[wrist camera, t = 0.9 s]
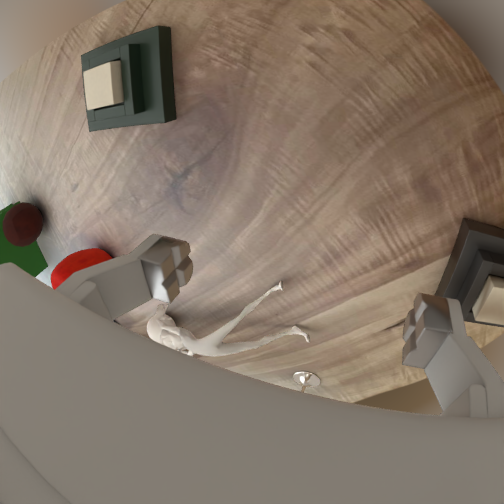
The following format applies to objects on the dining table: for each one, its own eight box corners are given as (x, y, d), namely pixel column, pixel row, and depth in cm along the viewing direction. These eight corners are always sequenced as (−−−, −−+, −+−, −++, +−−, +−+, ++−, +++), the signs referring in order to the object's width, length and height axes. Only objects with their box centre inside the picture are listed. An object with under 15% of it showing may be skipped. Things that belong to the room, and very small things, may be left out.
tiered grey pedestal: (463, 217, 20) (475, 240, 17) (536, 239, 17) (552, 262, 14) (431, 301, 26) (435, 328, 23) (499, 313, 23) (507, 339, 20)
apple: (113, 235, 39) (62, 277, 31) (134, 282, 44) (91, 327, 35) (83, 234, 43) (37, 270, 34) (102, 276, 47) (62, 314, 39)
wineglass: (318, 392, 42) (297, 457, 33) (285, 382, 43) (259, 445, 34) (329, 375, 39) (307, 448, 29) (293, 364, 40) (265, 435, 31)
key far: (93, 70, 22) (82, 71, 21) (121, 60, 20) (109, 61, 19) (97, 107, 24) (86, 110, 23) (125, 101, 23) (113, 104, 22)
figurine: (310, 357, 31) (150, 384, 39) (309, 304, 40) (171, 341, 48) (279, 297, 28) (111, 342, 36) (283, 249, 37) (140, 300, 45)
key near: (488, 273, 18) (493, 286, 17) (518, 281, 17) (524, 293, 16) (471, 307, 21) (474, 320, 19) (500, 312, 19) (504, 325, 18)
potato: (23, 199, 47) (-8, 220, 40) (40, 189, 42) (3, 212, 35) (38, 234, 51) (8, 256, 44) (58, 229, 46) (23, 255, 39)
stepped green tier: (92, 53, 24) (70, 56, 21) (170, 26, 20) (147, 24, 17) (100, 127, 29) (79, 135, 27) (176, 119, 26) (154, 126, 23)
